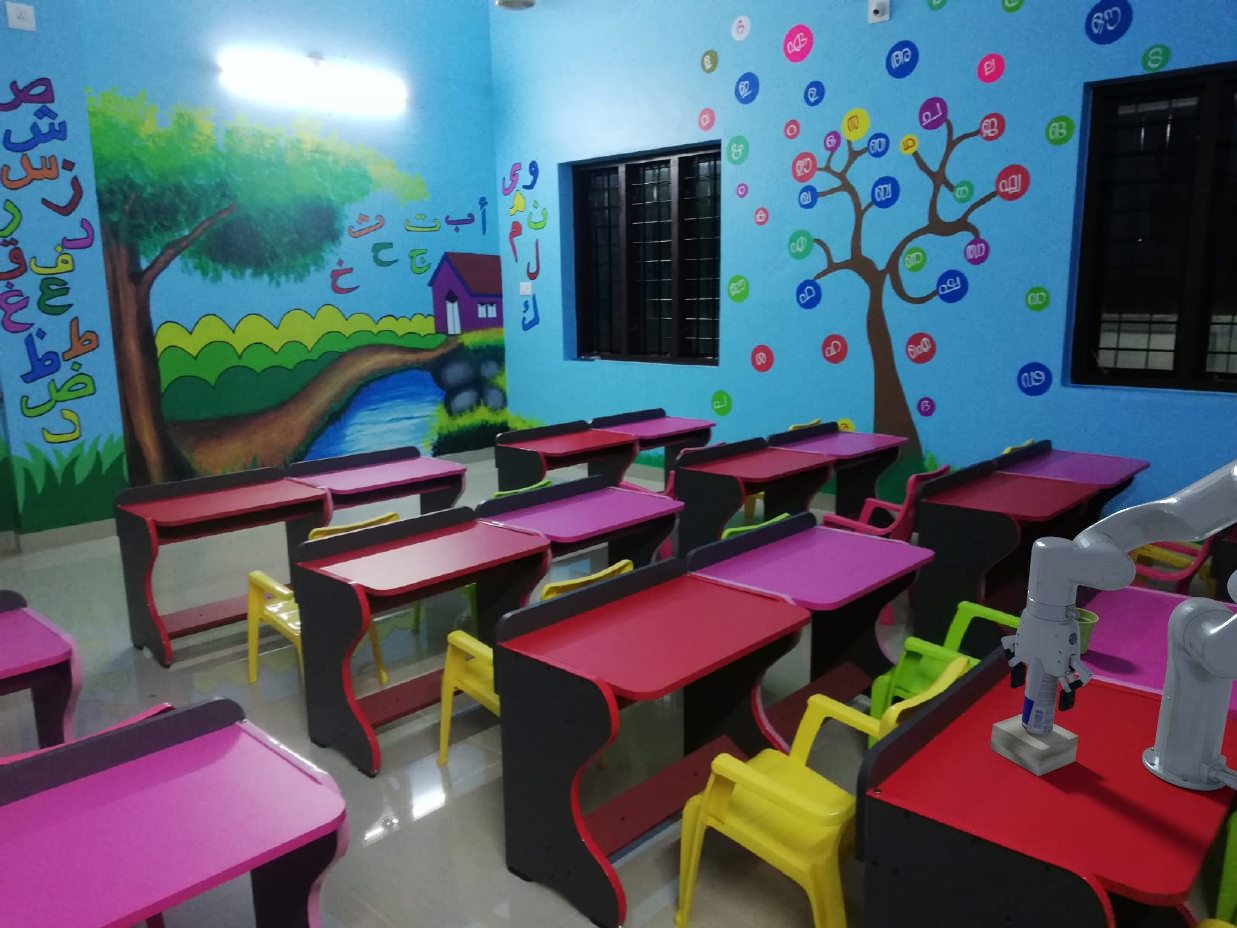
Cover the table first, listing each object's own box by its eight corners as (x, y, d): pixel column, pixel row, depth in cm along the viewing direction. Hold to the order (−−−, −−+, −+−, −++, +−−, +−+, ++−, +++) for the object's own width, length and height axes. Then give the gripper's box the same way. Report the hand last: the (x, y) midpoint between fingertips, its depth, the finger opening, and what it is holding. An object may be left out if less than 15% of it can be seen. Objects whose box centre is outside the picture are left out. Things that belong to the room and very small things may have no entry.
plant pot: (1039, 645, 204) (1043, 610, 202) (1067, 638, 208) (1071, 603, 206) (1075, 661, 195) (1079, 625, 194) (1103, 653, 199) (1108, 618, 197)
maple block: (1075, 761, 156) (1078, 735, 155) (1038, 776, 152) (1041, 750, 151) (1026, 735, 165) (1029, 711, 164) (990, 748, 160) (992, 724, 159)
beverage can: (1045, 723, 159) (1055, 647, 156) (1056, 738, 155) (1066, 660, 151) (1016, 722, 160) (1025, 646, 157) (1026, 736, 155) (1035, 659, 152)
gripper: (1111, 621, 146) (1099, 713, 150) (1021, 588, 161) (1013, 673, 165) (1082, 630, 143) (1071, 724, 147) (993, 596, 158) (985, 682, 162)
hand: (1040, 697), depth 156 cm, fingers open, 9 cm apart
